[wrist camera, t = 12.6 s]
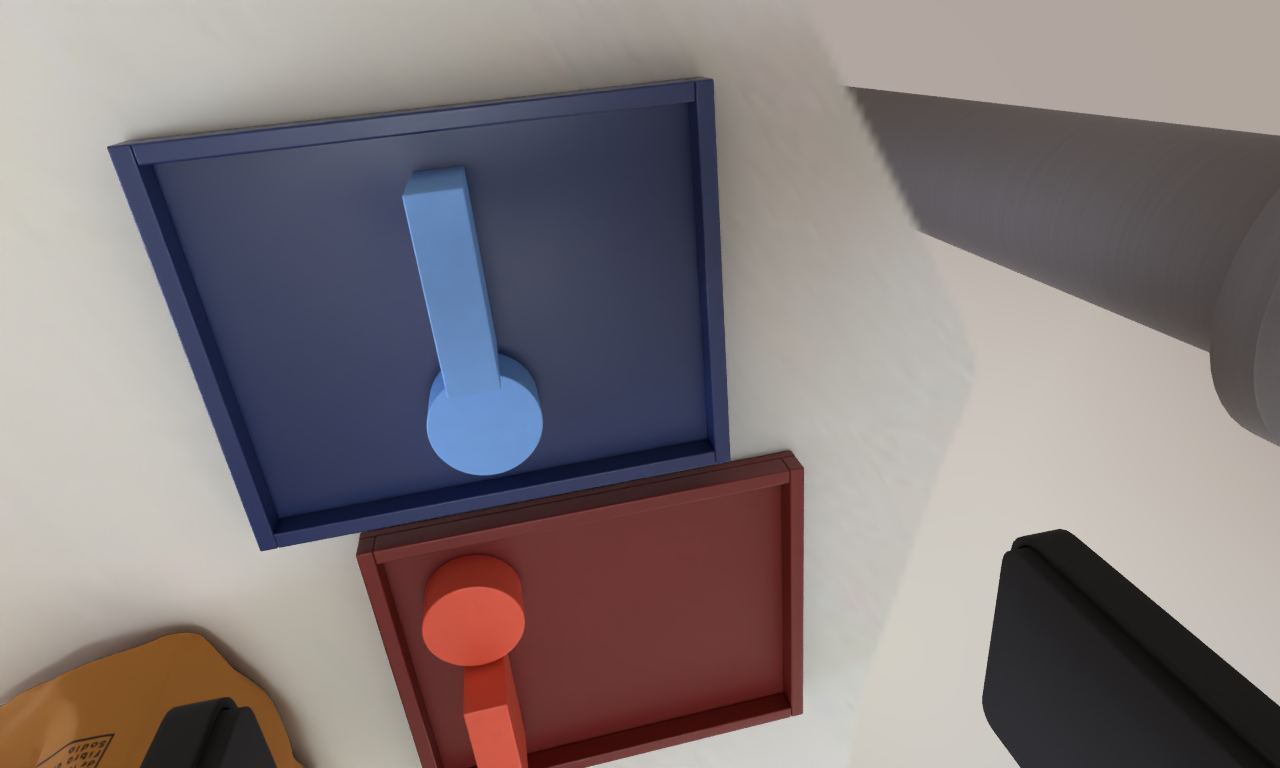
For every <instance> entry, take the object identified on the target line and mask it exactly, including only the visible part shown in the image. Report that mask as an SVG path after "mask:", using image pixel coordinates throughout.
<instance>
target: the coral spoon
mask: <svg viewBox="0 0 1280 768" xmlns="http://www.w3.org/2000/svg"><path fill="white" fill-rule="evenodd" d="M524 627H525V617H524V607H523V597H522V587H521V582H520V579H519V577H518V575H517V573H516V572H515V571H514V570H513V568H512V567H511V566H509V565H508V564H507V563H505V562H504V561H502V560H500V559H497V558H495V557H491V556H487V555H467V556H462V557H458V558H456V559H453V560H451V561H449V562H447V563H445V564H444V565H442V566H441V567H440V568H438V569H437V570H436V571H435V572H434V573H433V575H432V576H431V577H430V579H429V581H428V583H427V585H426V588H425V593H424V604H423V617H422V636H423V640H424V642H425V644H426V646H427V648H428V649H429V650H430V651H431V652H432V653H433V654H434V655H435V656H436V657H438V658H439V659H441V660H443V661H445V662H448V663H451V664H454V665H460V666H464V689H463V715H464V719H465V723H466V727H467V730H468V734H469V738H470V741H471V745H472V749H473V753H474V756H475V760H476V764H477V768H528V761H527V749H526V737H525V729H524V724H523V720H522V715H521V711H520V706H519V702H518V697H517V693H516V688H515V684H514V679H513V675H512V670H511V666H510V661H509V657H508V653H509V652H510V651H511V650H512V649H513V648H514V647H515V646H516V644H517V643H518V642H519V640H520V638H521V637H522V634H523V631H524Z"/></svg>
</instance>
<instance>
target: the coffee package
mask: <svg viewBox="0 0 1280 768" xmlns="http://www.w3.org/2000/svg"><path fill="white" fill-rule="evenodd" d="M222 697H230V698H231V699H233V700H234V702H235V703H236V705H237V706H238V708H239V707H244V706H248V707H250V708H251V709H252V711H253V712H254V714H255V716H256V719H257V721H258V723H259V726H260V728H261V730H262V733H263V735H264V737H265V740H266V742H267V744H268V747H269V749H270V751H271V754H272V756H273V758H274V761H275V763H276V765H277V768H305V767H304V766H302V765H301V764H300V763H299V762H298V761H296V760H295V758H294V757H293V756H292V749H291V745H290V742H289V739H288V736H287V733H286V730H285V728H284V726H283V723H282V721H281V719H280V716H279V714H278V712H277V709H276V708H275V706H274V704H273V702H272V700H271V699H270V697H269V696H268V694H267V693H266V692H265V691H264V690H263V689H262V688H261V687H259V686H258V685H257V684H255V683H254V682H253V681H251V680H250V679H248V678H247V677H245V676H244V675H242V674H241V673H239V672H237V671H236V670H234V669H233V668H232V667H231V666H230V665H229V664H228V663H227V662H226V660H225V659H224V658H223V657H222V656H221V655H220V653H219V652H218V651H217V650H216V649H215V648H214V647H213V646H212V645H211V644H210V643H209V642H208V641H207V640H206V639H205V638H203V637H202V636H200V635H198V634H192V633H177V634H170V635H165V636H163V637H161V638H158V639H156V640H154V641H152V642H149V643H147V644H144V645H142V646H139V647H136V648H132V649H129V650H126V651H123V652H120V653H116V654H113V655H110V656H108V657H105V658H102V659H99V660H96V661H93V662H90V663H87V664H84V665H82V666H80V667H78V668H76V669H74V670H71V671H69V672H66V673H63V674H61V675H59V676H58V677H56V678H55V679H53V680H51V681H48V682H45V683H42V684H39V685H37V686H35V687H33V688H31V689H29V690H27V691H24V692H22V693H21V694H19V695H18V696H16V697H15V698H14V699H12V700H11V701H9V702H8V703H7V704H5V705H3V706H2V707H0V768H140V766H141V764H142V762H143V759H144V757H145V755H146V753H147V751H148V749H149V747H150V745H151V743H152V741H153V739H154V736H155V734H156V732H157V730H158V728H159V726H160V724H161V722H162V720H163V718H164V717H165V715H166V713H167V712H168V711H169V710H170V709H172V708H173V707H177V706H182V705H187V704H192V703H197V702H202V701H207V700H212V699H217V698H222Z"/></svg>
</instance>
